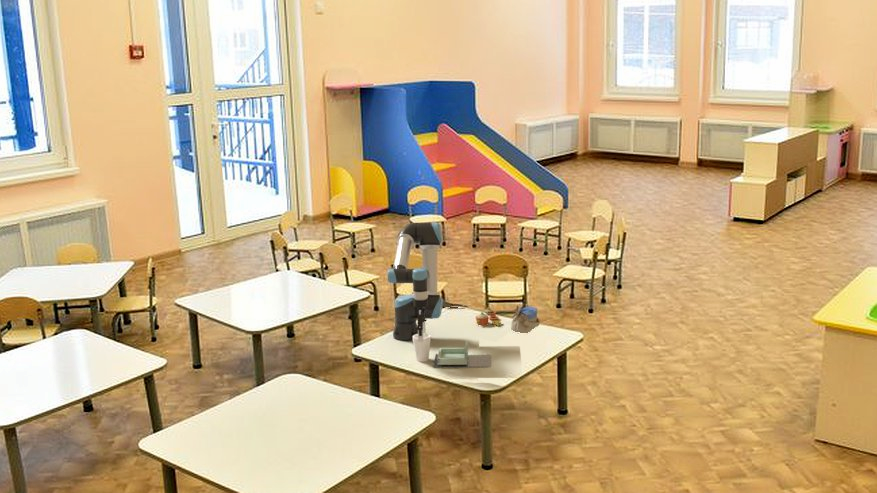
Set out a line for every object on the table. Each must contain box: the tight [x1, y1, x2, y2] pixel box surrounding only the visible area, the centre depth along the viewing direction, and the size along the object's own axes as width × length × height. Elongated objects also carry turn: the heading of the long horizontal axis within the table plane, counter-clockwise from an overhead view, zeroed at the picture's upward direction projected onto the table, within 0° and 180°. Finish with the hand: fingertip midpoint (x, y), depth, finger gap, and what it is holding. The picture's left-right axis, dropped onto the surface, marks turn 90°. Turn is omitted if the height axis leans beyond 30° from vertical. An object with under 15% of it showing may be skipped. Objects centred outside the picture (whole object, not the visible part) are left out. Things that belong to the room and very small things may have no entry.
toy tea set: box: [475, 306, 502, 327], centre depth 514 cm, size 26×16×10 cm, turn 5°
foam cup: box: [412, 333, 432, 363], centre depth 454 cm, size 10×9×13 cm
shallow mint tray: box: [437, 340, 469, 366], centre depth 450 cm, size 17×15×7 cm
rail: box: [432, 353, 491, 369], centre depth 451 cm, size 18×29×1 cm, turn 86°
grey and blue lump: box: [510, 302, 541, 334], centre depth 501 cm, size 26×16×16 cm, turn 153°
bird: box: [442, 300, 469, 309], centre depth 537 cm, size 18×8×10 cm, turn 71°
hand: (421, 337), depth 453 cm, fingers open, 13 cm apart
